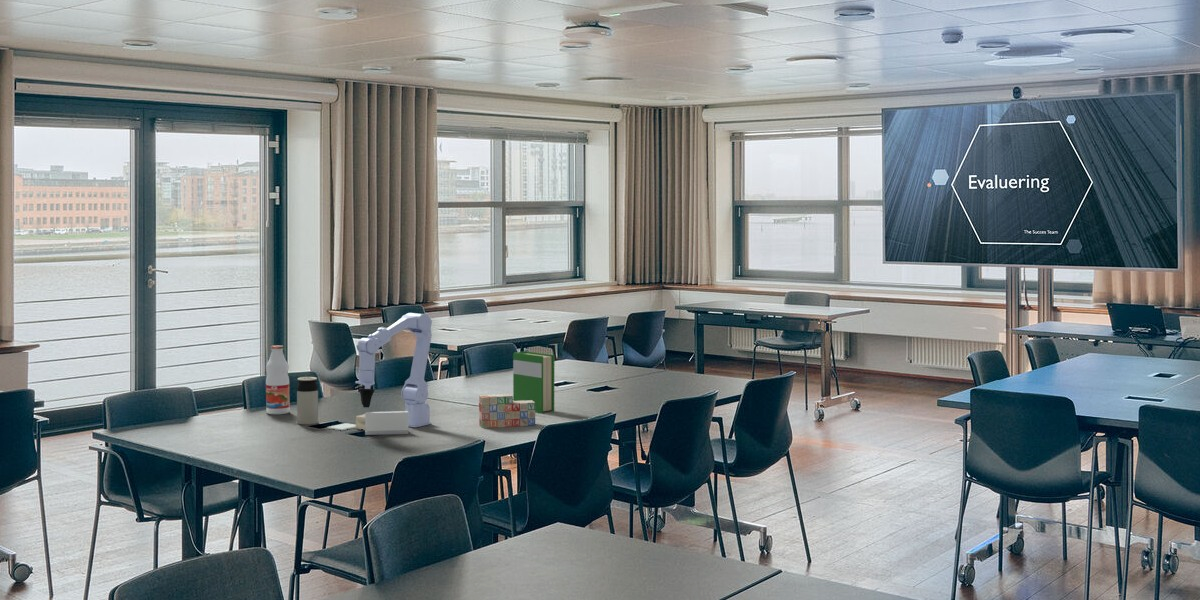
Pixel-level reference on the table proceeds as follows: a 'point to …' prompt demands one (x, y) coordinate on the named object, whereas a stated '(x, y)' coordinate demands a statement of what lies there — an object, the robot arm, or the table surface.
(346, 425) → the sage pad
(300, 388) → the travel mug
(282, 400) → the fruit juice
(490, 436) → the table surface
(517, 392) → the hardback book
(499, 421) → the stack of blocks
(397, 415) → the divider screen
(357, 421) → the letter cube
